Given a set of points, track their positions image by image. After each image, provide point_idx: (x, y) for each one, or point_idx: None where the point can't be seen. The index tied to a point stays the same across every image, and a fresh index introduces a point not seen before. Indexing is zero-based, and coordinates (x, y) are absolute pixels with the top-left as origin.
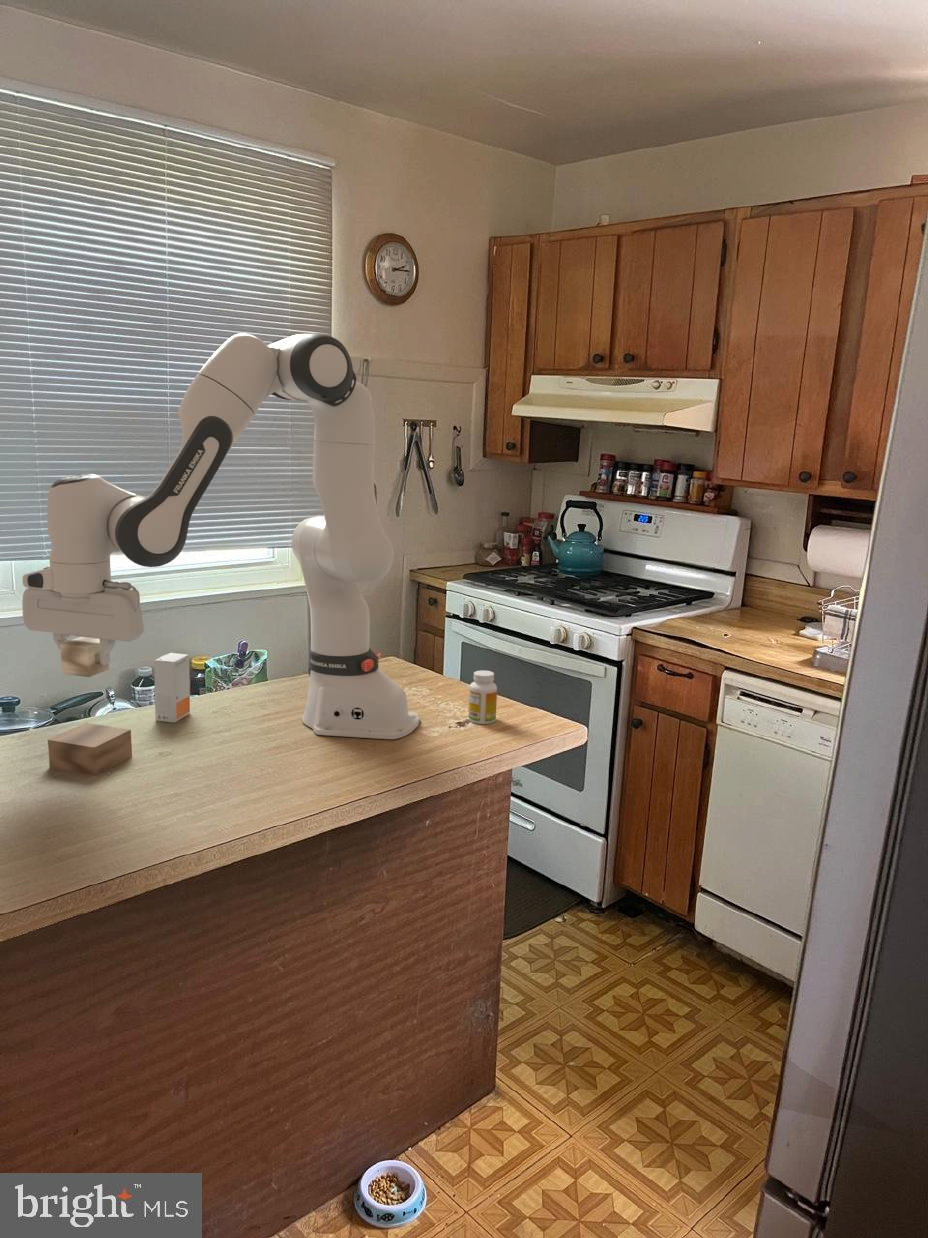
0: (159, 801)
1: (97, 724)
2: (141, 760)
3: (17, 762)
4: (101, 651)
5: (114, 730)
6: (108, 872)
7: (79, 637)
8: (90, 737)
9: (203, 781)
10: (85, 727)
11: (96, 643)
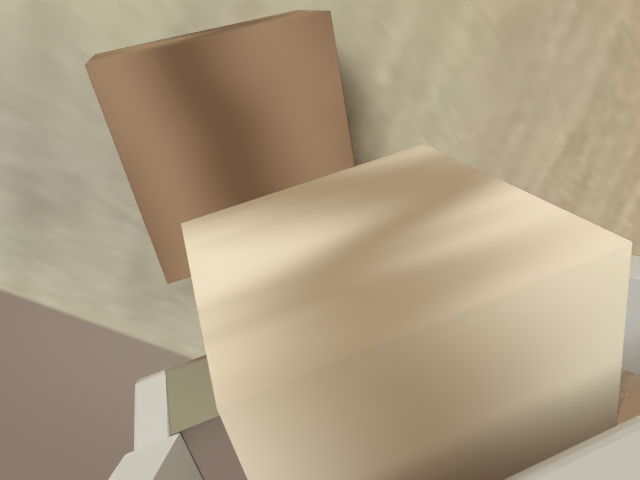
0: (561, 190)
1: (153, 50)
2: (351, 20)
3: (37, 282)
4: (630, 365)
5: (282, 61)
6: (620, 386)
7: (238, 443)
8: (271, 173)
9: (595, 36)
10: (148, 111)
11: (612, 407)
